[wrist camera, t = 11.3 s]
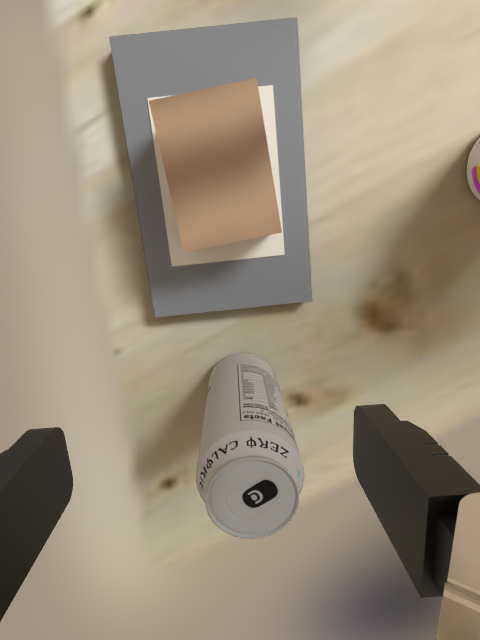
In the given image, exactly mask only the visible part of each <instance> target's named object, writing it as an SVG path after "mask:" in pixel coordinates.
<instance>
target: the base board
mask: <svg viewBox="0 0 480 640" xmlns="http://www.w3.org/2000/svg"><path fill="white" fill-rule="evenodd" d="M109 39H110V45H111V51H112V57H113V63H114V69H115V76H116V82H117V88H118V94H119V100H120V106H121V112H122V118H123V125H124V131H125V137H126V143H127V149H128V155H129V161H130V168H131V174H132V180H133V186H134V192H135V198H136V204H137V211H138V217H139V223H140V229H141V235H142V241H143V247H144V253H145V260H146V266H147V272H148V278H149V284H150V290H151V296H152V303H153V309H154V315H155V318H157V317H166V316H176V315H185V314H195V313H204V312H214V311H224V310H233V309H243V308H252V307H262V306H271V305H281V304H291V303H300V302H310V301H312V289H311V270H310V252H309V233H308V214H307V195H306V176H305V157H304V138H303V120H302V101H301V82H300V63H299V44H298V25H297V18H287V19H277V20H268V21H258V22H248V23H238V24H229V25H219V26H209V27H199V28H189V29H180V30H170V31H160V32H150V33H141V34H131V35H121V36H111V37H109ZM254 78H257V83H258V89H259V95H260V101H261V108H262V114H263V120H264V126H265V132H266V138H267V144H268V150H269V156H270V162H271V168H272V174H273V181H274V187H275V193H276V199H277V205H278V211H279V217H280V223H281V229H282V233H277V234H272V235H268V236H263V237H258V238H253V239H248V240H243V241H238V242H233V243H228V244H223V245H218V246H213V247H209V248H204V249H199V250H194V251H189V252H184V251H183V246H182V242H181V238H180V234H179V229H178V225H177V221H176V216H175V212H174V208H173V203H172V199H171V195H170V191H169V186H168V182H167V178H166V173H165V169H164V165H163V160H162V156H161V152H160V148H159V143H158V139H157V135H156V130H155V126H154V122H153V117H152V113H151V109H150V105H149V101H150V100H155V99H160V98H164V97H169V96H174V95H178V94H183V93H188V92H193V91H197V90H202V89H207V88H211V87H216V86H221V85H225V84H230V83H235V82H240V81H244V80H249V79H254Z"/></svg>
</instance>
